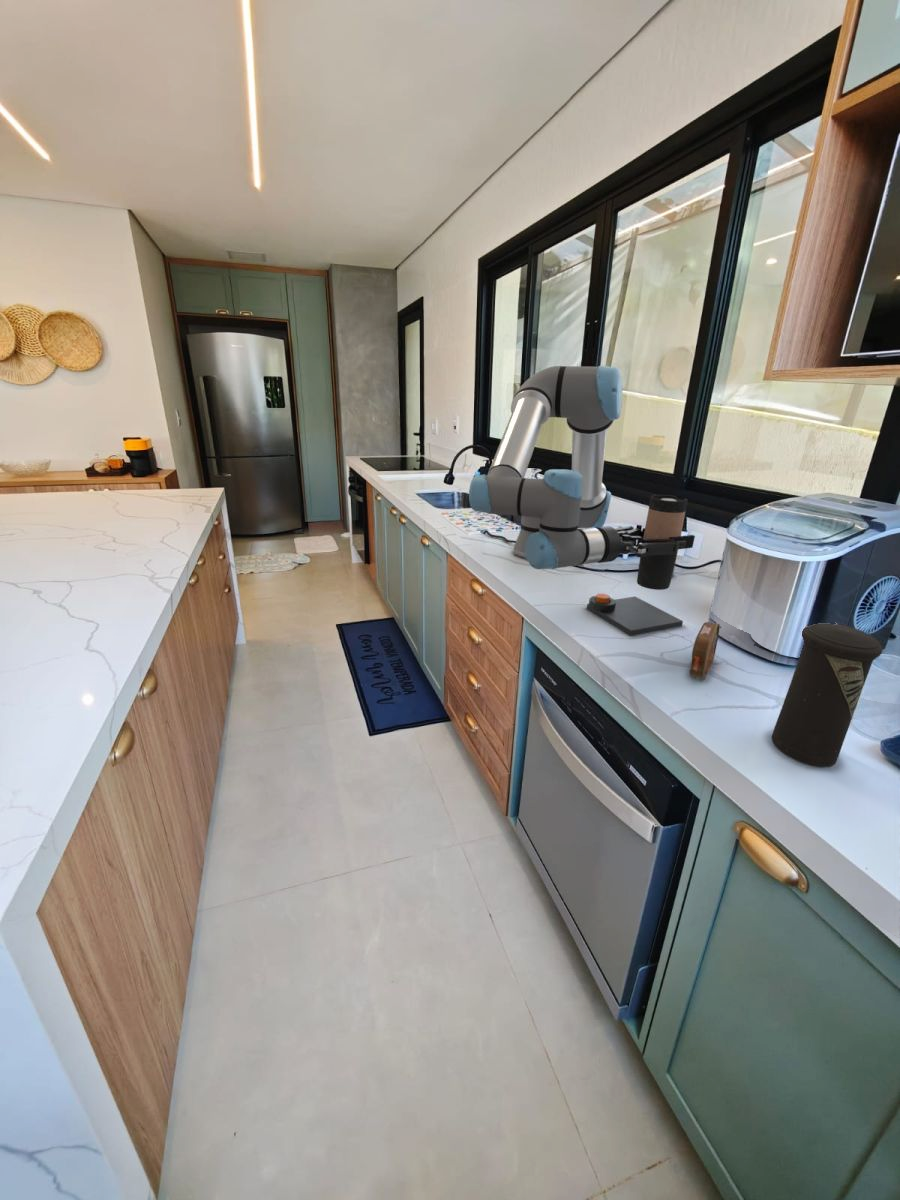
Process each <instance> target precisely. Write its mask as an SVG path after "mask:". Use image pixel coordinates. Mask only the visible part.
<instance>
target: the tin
mask: <svg viewBox="0 0 900 1200" xmlns="http://www.w3.org/2000/svg"><path fill="white" fill-rule="evenodd" d="M719 634H720V623H715V622H709V621H705V622H704V623H703V624H702V626H701V628H700V629H699V631H698V633H697V635H696V637H695V640H694V643H693V646H692V651H691V663H690V668H689V670H688V671H689V673H688V674H689V676H690V677H693V678H696V679H701V680H703V681H705V680H706V678H707V676H708V674H709V671H710V669H711V667H712V664H713V662H714V659H715V655H716V650H717V647H718V646H717V645H718V641H719V636H720V635H719Z"/></svg>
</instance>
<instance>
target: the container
mask: <svg viewBox="0 0 900 1200" xmlns="http://www.w3.org/2000/svg"><path fill="white" fill-rule="evenodd" d="M802 637H803V640H804V645H803V648H802V651H801V654H800V657H799V659H797V664H796V666H795V669H794V672H793V675H792V678H791V681H790V683H789V687H788V689H787V691H786V692H787V693H786V695H785V698H784V701H783V703H782V705H781V709H780V711H779V713H778V714H779V715H778V717H777V719H776V723H775V725H774V728H773V731H772V734H771V741H772V743H773V745H774V747H775V748H776V749H777V750H779V751H780V752H781V753H782V754H784V755H786V756H787V757H789V758H791V759H792V760H795V761H796V762H800V763H802V764H805V765H808V766H812V767H817V768H827V767H828V768H829V767H833V766H834V765H835V764H836V763H837V761H838V759H839V756H840V753H841V750H842V747H843V745H844V742H845V739H846V737H847V733H848V731H849V728H850V725H851V722H852V719H853V717H854V713H855V711H856V709H857V705H858V702H859V700H860V697H861V694H862V691H863V690H864V686H865V683H866V681H867V678H868V675H869V673H870V670H871V668H872V664H873V662H874V661H875V660H876V659H877V658H879V657H880V656H881V655H882V653H883V646H882V644H881V642H879V640H878V639H877V638H875V637H874V636H872V635H871V634H869V633H868V632H865V631H862V630H860V629H857V628H854V627H851V626H847V625H843V624H839V623H836V624H830V623H818V624H813V625H810V626H807V627H805V628H804V629H803V631H802Z"/></svg>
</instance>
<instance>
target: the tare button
mask: <svg viewBox="0 0 900 1200" xmlns="http://www.w3.org/2000/svg"><path fill="white" fill-rule="evenodd" d="M595 596H596V602H599V603H605V604H606V603H609V601H610V598H611V596H610V595H609V594H607V593H597V594H596V595H595Z"/></svg>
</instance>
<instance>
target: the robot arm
mask: <svg viewBox="0 0 900 1200" xmlns="http://www.w3.org/2000/svg"><path fill="white" fill-rule="evenodd" d="M512 398H513V399H512V401H511V404H510V412H511V415H510V417H509V419H508V422H507V425H506V427H505V430H504V431H503V432H504V433H503V435H502V437H501V439H500V442H499V445H498V447H497V450H496V452H495V455H494V457H493V460H492V462H491V465H490V467H489V469H488V472H487V474H484V473H483V474H477V475H475V476H473V478H472V479H471V481H470V484H469V490H468V501H469V506H470V508H471V509H472V510H473V511H475V512H478V513H483V514H484V513H485V514H489V515H501V516H503V515H505V516H515V517H521V521H520V531H519V533H518V535H517V538H516V540H513V539H512V540H511V539H507V537H505V536H502V535H496V534H492V533H490V532H489V530H484V531H483V532H482V534H484V535H486V534H487V535H488V536H489V537H492V538H495V539H496V538H497V539H502V540H504V541H505V542H506V543H509V544H514V545H513V554H514V555H515V556H516V557H519V558H522V559H525V560H527V562H528V564H529V565H530V566H531V567H532V568H533V569H536V570H556V569H561V568H568V567H577V566H579V567H581V568H583V567H584V566H585V565H592V564H601V563H602V564H603V563H609V562H613V561H615V560H616V559H617V558H619V556H620V555H629V554H635V557H637V558H640V557H644V556H652V555H668V554H670V555H672V554H677V555H678V553H677V549H678V550H683V549H684V550H685V549H692V548H693V546H694V542H695V538H696V535H694V534H689V535H681V536H678V537H669V539H643V537H644V531H645V527H643V525H641V524H636V527H635V528H634V526H633V525H629V526H623V527H617V528H614V527H613V526H609V525H608V526H605V522H606V521H607V517H608V512H609V509H610V505H611V499H612V493H611V492H610V491H609V490H607V487H606V485H605V484H604V483H603V475H604V473H603V472H604V463H605V452H606V451H605V450H606V442H607V430H608V429H609V428H610V427H611V426H612V424H613V423H614V421H616V420H618V419H620V418H621V417H620V416H621V413H622V405H623V376H622V372H621V370H620V369H619V368H618V367H616V366H605V365H599V366H580V365H579V366H577V365H575V366H570V365H566V366H565V365H554V366H549V367H546V368H544V369H542V370H540V371H538V372H536V373H534V374H533V375H531V376H530V377H529V378H528V379H526V380H525V382H523V383H522V385H521V386H520V387H519V388H518V390H517V391H516V392H515V394H514V396H513V397H512ZM549 418H562V419H566V425H567V427H568V428H569V429H570V430H571V431H572V433H571V434H572V435H571V436H572V438H571V439H572V440H571V469H563V468H562V469H557V468H556V469H555V468H554V469H553V468H552V469H548V470H546V471H545V472H544V475H543V477H542V478H529V477H527V478H526V477H525V476H526V473H527V471H528V467H529V464H530V462H531V458H532V456H533V453H534V449H535V447H536V444H537V441H538V439H539V438H538V437H539V436H540V432H541V429H542V426H543V425H544V424H545V423H546V422H547V421H548V420H549Z"/></svg>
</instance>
